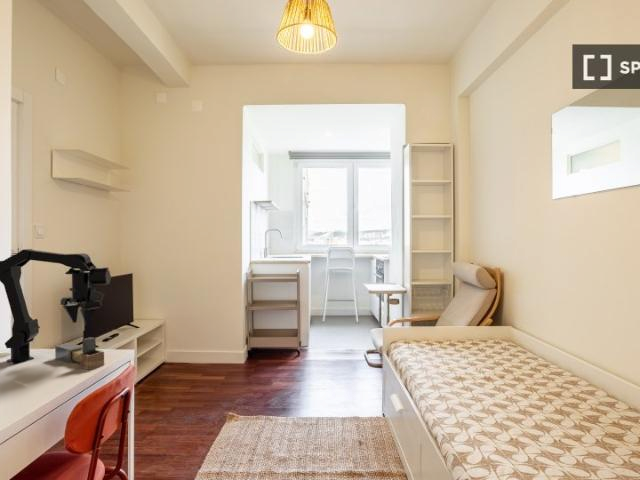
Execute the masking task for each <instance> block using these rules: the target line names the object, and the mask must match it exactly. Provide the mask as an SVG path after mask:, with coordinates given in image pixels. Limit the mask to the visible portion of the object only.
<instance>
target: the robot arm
mask: <svg viewBox="0 0 640 480" xmlns="http://www.w3.org/2000/svg"><path fill="white" fill-rule="evenodd" d="M30 261H36V262H44V263H52V264H53V263H54V264H61V265H63V266H65V267H68V268H69V269H68V270H67V271H65V275H71V287H70V288H69V291H71V296H67V297H62V298H61V299H60V305H61V306H62V308H63V309H64V310H65V311H66V313H67V315H68V317H69V318H70V319H71V320H70V321H71V322H72V323H77V322H78V321H77V320H78V312H79V311H80V313H81V316H82V318H83V322H84V325H85V326H90V324H91V320H92V318H93V315H94V313H95V311H97V310H98V309H100V308H101V307H102V301H103V299H104V296H105V292H100V291H97V290H96V289H95V288H93V287H92V286H90V284H91V285H93V286H94V285H95V286H97V285H110V283H111V279H112V278H111V277H112V275H111V271H110V270H109V267H97V266H96V265H95V264H94V263H93V261H92V260H91V257H90V256H89V254H87V253H59V252H52V251H51V252H50V251H44V250H36V249H33V248H28V249H22V250H20V251H18V252H17V253H15V254H13V255H11V256H9V257H7V258H5V259H4V260H0V283H1V284H2V285H3V286H4V291H5V294H6V298H7V301H8V304H9V305H8V306H9V308H10V312H11V314H12V318H13V323H12V326H11V337H10V338H9V339H8V340H7V341H5V342H4V345H5V347H6V349H10V359H9V358H8V359H6V362H8V363H10V364H13V365H16V364H20V363H24V362H27V361H31V360H34V359H35V357H33V356H31V354H30V353H31V348H30V344H31V342H33V341H34V339H35V337H37V336H38V334H39V331H40V330H39V329H41V326H39V321H38V320H39V319H38V318H34V319H33V318H32V317H31V316H30V314H29V310H28V306H27V303H26V299H25V295H24V292H23V289H22V285H21V282H20V281H21V277H22V268H23V267H24V266H26V265H27V264H28V263H29V262H30ZM79 308H80V309H79Z"/></svg>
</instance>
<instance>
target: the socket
mask: <svg viewBox="0 0 640 480" xmlns="http://www.w3.org/2000/svg"><path fill="white" fill-rule="evenodd" d="M102 366H105V352H104V351H102V350H99V349H96V354H92V355H87V354H83V353H80V362H79V367H80V368H83V369H86V370H88V371H89V370H90V371H91V370H93V369H97V368H99V367H102Z"/></svg>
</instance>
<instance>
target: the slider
mask: <svg viewBox="0 0 640 480" xmlns="http://www.w3.org/2000/svg"><path fill="white" fill-rule="evenodd" d="M82 346H83V350H81V349H77V350H73V351H71V360H74V362H78V363H80V353H83V354H87V355H92V354H96V350H97V349H96V338H95V337H92V336H89V337H86V338H82Z"/></svg>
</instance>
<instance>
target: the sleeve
mask: <svg viewBox="0 0 640 480" xmlns="http://www.w3.org/2000/svg"><path fill="white" fill-rule="evenodd" d="M54 346H55V356H54V357H55V359H57V360H60V361H62V362H65V363H68V364H70V363H74V362H75V361H74V360H71V351H73V350H77V349H81V350H83V345H79V344H77V343H72V342H65V343H61V344H58V345H54Z"/></svg>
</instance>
